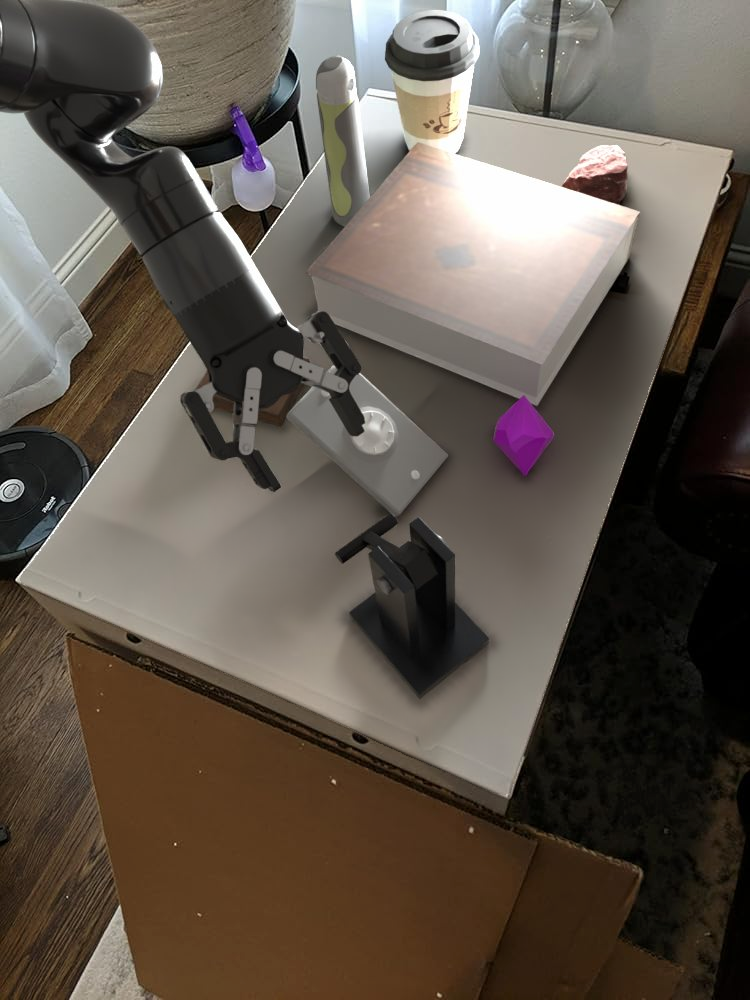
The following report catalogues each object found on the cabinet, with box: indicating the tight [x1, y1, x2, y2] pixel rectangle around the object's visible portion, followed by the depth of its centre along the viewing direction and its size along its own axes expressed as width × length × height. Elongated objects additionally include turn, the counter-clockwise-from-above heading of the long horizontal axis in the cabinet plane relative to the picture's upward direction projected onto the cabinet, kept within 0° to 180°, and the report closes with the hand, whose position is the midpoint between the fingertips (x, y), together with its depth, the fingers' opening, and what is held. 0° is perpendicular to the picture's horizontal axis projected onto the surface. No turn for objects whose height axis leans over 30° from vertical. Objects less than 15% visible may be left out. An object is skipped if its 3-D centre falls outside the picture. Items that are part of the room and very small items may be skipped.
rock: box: [561, 144, 629, 205], centre depth 103 cm, size 11×6×8 cm
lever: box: [334, 512, 438, 590], centre depth 69 cm, size 10×6×2 cm
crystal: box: [493, 395, 555, 477], centre depth 85 cm, size 5×5×5 cm
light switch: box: [286, 364, 449, 517], centre depth 85 cm, size 8×6×14 cm
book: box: [305, 142, 641, 407], centre depth 96 cm, size 24×28×6 cm
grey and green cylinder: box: [315, 55, 371, 227], centre depth 98 cm, size 5×5×20 cm
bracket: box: [348, 516, 490, 700], centre depth 71 cm, size 10×8×15 cm
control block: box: [194, 356, 311, 428], centre depth 92 cm, size 8×10×4 cm
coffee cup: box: [384, 9, 481, 154], centre depth 106 cm, size 11×11×15 cm
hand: (317, 461), depth 72 cm, fingers open, 8 cm apart
